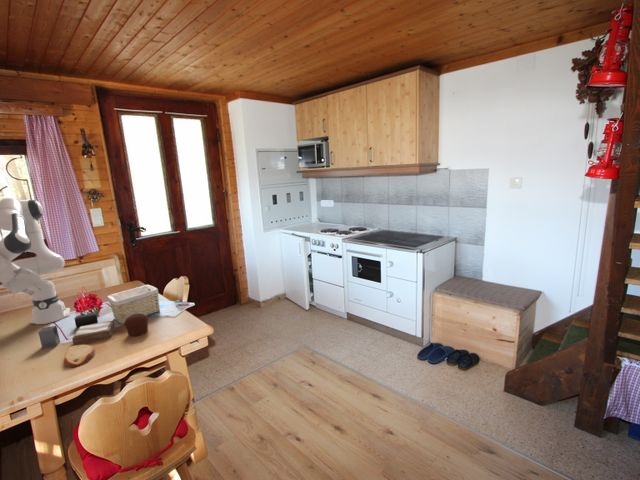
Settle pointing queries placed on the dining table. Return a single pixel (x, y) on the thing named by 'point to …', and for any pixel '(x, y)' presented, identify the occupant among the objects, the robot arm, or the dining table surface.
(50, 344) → the block
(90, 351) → the slice of bread
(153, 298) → the storage basket
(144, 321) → the muffin
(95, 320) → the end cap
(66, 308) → the robot arm
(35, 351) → the dining table surface
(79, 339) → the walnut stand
